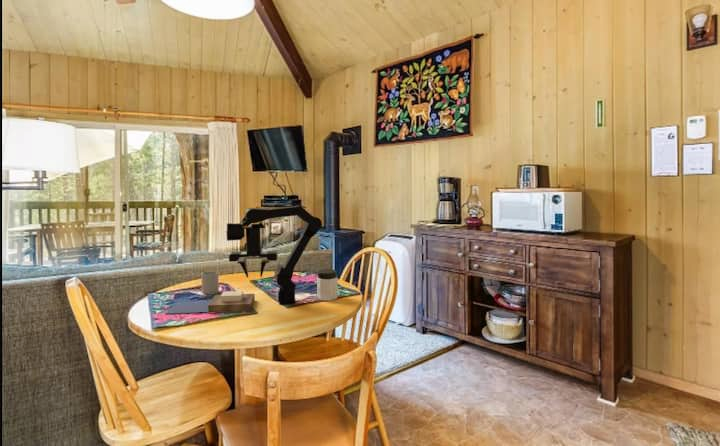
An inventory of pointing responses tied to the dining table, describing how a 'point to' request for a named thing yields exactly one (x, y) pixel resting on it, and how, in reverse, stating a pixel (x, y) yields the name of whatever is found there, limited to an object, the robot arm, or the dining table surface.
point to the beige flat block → (232, 296)
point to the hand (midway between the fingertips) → (254, 277)
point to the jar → (327, 284)
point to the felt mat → (189, 307)
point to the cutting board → (231, 304)
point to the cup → (210, 282)
